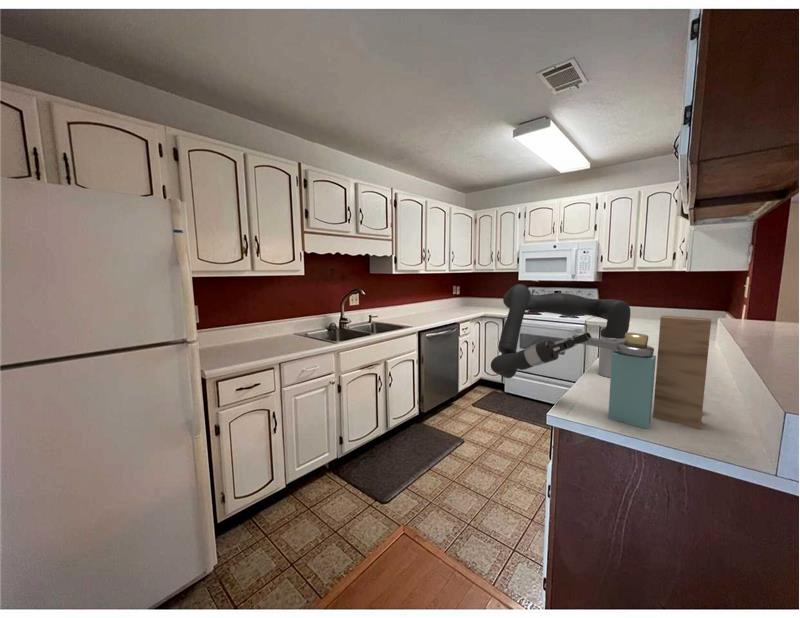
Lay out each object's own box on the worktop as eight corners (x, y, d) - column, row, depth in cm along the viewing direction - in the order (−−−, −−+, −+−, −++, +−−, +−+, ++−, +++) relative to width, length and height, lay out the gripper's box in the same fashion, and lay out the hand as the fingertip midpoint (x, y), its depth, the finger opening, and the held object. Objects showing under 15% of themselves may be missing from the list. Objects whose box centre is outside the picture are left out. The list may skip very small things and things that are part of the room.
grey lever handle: (577, 338, 111) (578, 323, 110) (655, 352, 96) (657, 335, 95) (568, 343, 105) (570, 327, 104) (650, 359, 90) (653, 340, 89)
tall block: (612, 412, 104) (616, 350, 102) (650, 422, 97) (655, 355, 95) (608, 418, 100) (612, 353, 98) (647, 428, 93) (653, 359, 91)
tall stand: (655, 411, 105) (663, 314, 101) (701, 422, 97) (711, 318, 93) (652, 417, 100) (660, 317, 96) (700, 429, 93) (711, 320, 89)
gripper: (528, 347, 112) (576, 328, 100) (543, 340, 122) (588, 322, 110) (538, 367, 110) (588, 350, 99) (552, 358, 120) (600, 342, 109)
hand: (588, 336), depth 105 cm, fingers closed on grey lever handle, 3 cm apart
